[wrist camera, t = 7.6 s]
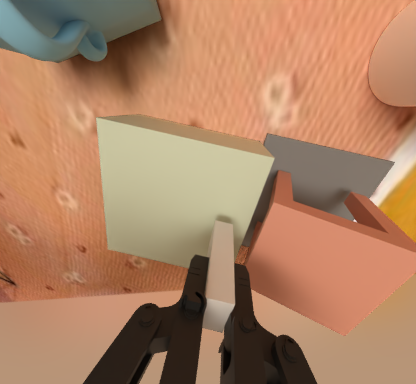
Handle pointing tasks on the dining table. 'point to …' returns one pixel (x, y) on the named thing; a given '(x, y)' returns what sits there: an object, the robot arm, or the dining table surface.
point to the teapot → (70, 26)
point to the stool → (328, 258)
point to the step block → (175, 186)
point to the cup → (396, 61)
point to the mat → (318, 177)
